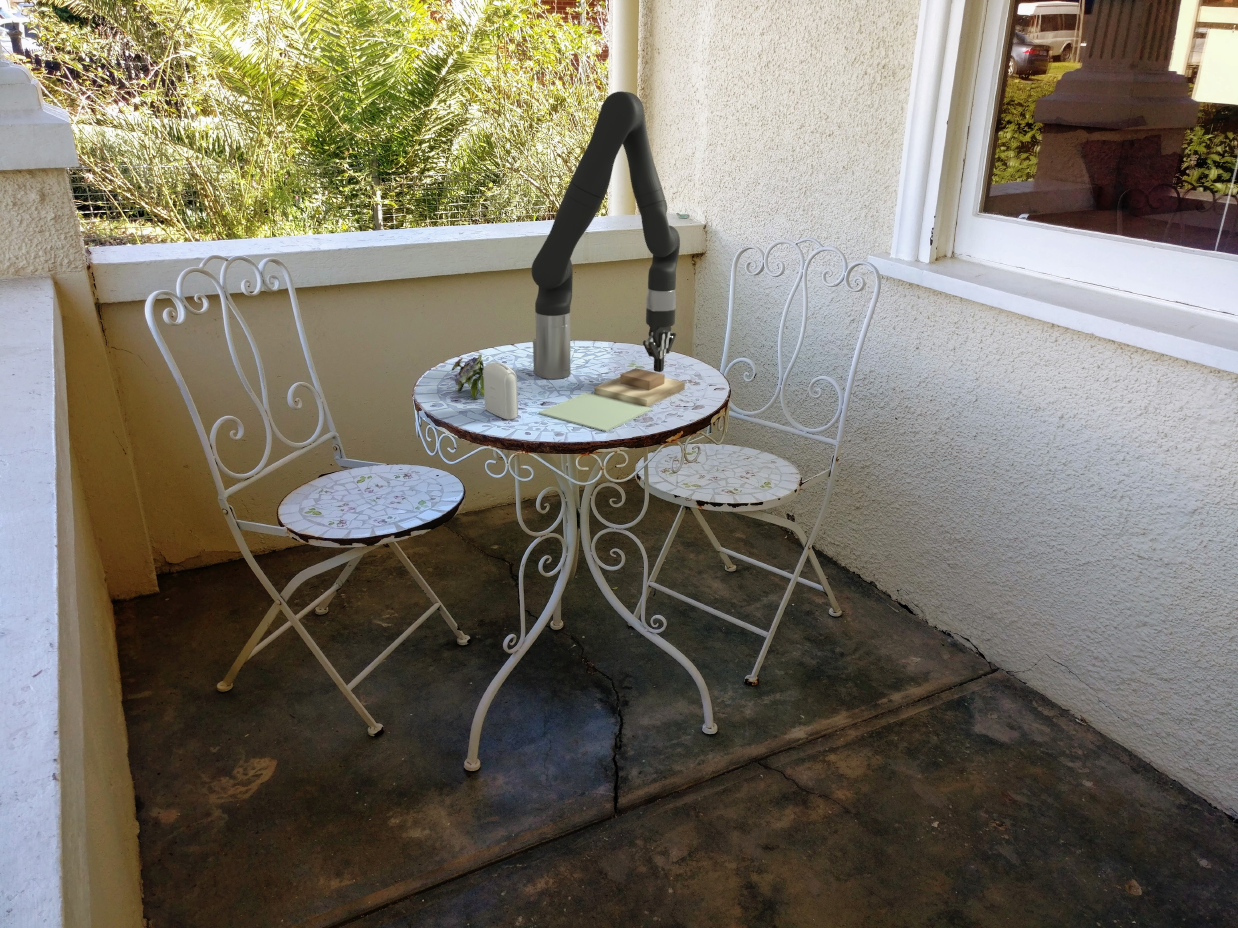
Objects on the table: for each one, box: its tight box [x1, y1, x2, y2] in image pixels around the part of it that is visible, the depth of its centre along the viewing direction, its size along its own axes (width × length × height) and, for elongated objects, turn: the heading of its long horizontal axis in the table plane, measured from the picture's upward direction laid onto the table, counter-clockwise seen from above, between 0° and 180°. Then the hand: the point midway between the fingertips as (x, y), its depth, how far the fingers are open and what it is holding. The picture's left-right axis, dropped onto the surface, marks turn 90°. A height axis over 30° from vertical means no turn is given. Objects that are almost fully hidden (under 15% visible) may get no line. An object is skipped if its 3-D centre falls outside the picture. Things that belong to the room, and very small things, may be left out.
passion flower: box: [451, 353, 485, 401], centre depth 224 cm, size 11×11×12 cm
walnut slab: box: [619, 368, 666, 391], centre depth 227 cm, size 9×7×2 cm
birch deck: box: [593, 376, 686, 408], centre depth 227 cm, size 16×18×2 cm
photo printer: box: [483, 361, 519, 420], centre depth 208 cm, size 10×4×12 cm, turn 39°
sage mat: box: [538, 391, 653, 433], centre depth 213 cm, size 20×19×1 cm
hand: (658, 371), depth 233 cm, fingers closed
